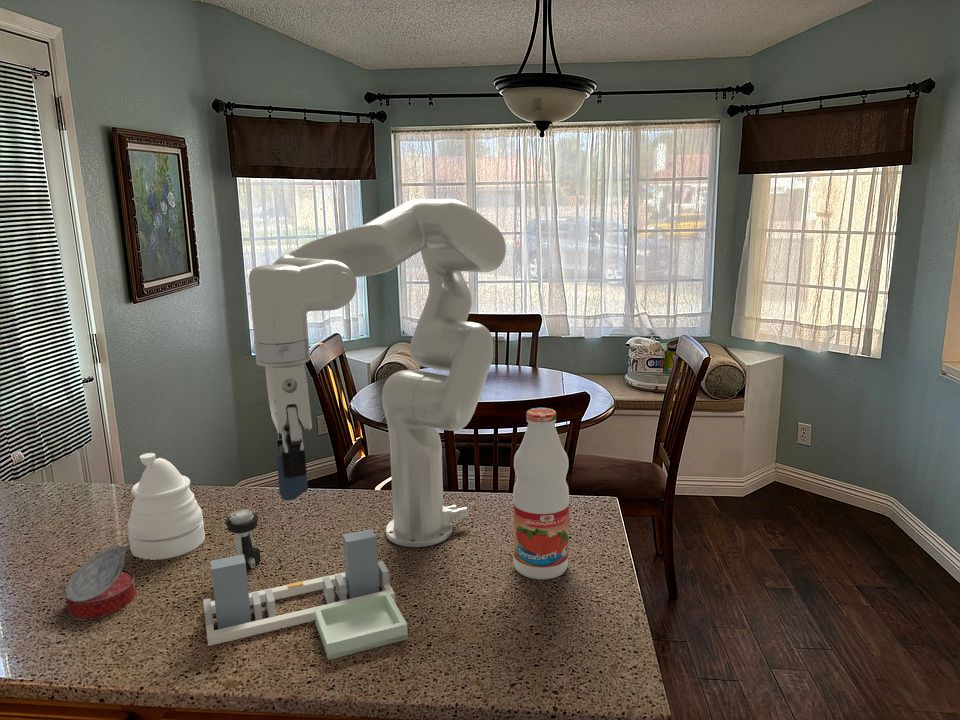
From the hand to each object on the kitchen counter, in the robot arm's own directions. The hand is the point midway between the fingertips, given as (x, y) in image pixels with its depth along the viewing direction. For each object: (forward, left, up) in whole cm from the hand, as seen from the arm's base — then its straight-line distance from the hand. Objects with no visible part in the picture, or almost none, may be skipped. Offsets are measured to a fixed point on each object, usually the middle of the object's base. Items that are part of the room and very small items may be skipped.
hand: (292, 468), depth 109 cm
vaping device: (0, 0, -4) cm, 4 cm away
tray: (-7, +10, -23) cm, 26 cm away
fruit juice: (-40, +5, -23) cm, 46 cm away
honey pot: (+19, -32, -23) cm, 44 cm away
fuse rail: (0, 0, -23) cm, 23 cm away
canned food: (+29, -15, -24) cm, 41 cm away
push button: (+7, -16, -23) cm, 29 cm away
